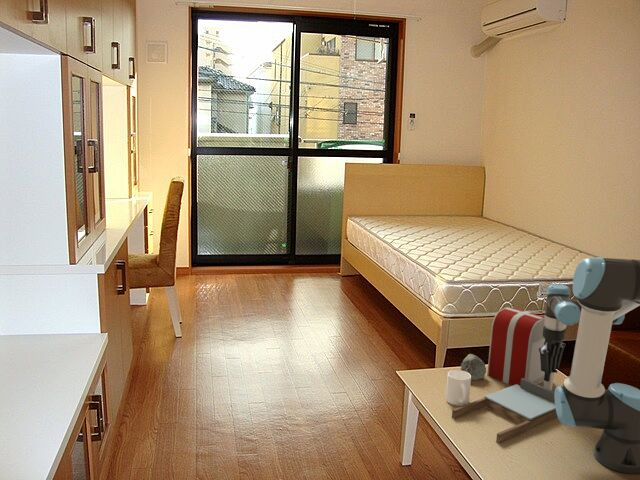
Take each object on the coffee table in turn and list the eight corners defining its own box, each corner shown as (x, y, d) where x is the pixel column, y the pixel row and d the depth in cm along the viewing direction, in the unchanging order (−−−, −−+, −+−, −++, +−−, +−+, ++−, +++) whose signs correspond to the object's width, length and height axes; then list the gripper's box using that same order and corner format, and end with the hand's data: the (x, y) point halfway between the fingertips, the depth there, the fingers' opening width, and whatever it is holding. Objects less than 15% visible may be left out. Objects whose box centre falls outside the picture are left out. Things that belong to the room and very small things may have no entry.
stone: (479, 357, 243) (473, 347, 252) (458, 372, 244) (452, 362, 254) (493, 375, 244) (486, 364, 254) (472, 390, 246) (466, 379, 255)
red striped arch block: (525, 390, 239) (532, 323, 233) (485, 375, 251) (491, 311, 246) (548, 379, 249) (555, 314, 244) (508, 365, 262) (515, 303, 256)
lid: (562, 406, 219) (563, 395, 219) (530, 420, 209) (531, 408, 208) (516, 385, 235) (517, 375, 234) (484, 397, 225) (485, 386, 224)
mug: (475, 411, 221) (477, 384, 219) (452, 411, 221) (454, 384, 218) (465, 395, 233) (467, 369, 231) (443, 396, 232) (445, 369, 230)
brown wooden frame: (561, 415, 220) (562, 407, 219) (498, 443, 200) (499, 434, 200) (514, 393, 236) (515, 386, 235) (451, 417, 216) (452, 409, 216)
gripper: (556, 321, 232) (549, 380, 236) (534, 327, 224) (527, 388, 229) (574, 327, 226) (567, 388, 231) (552, 333, 218) (545, 396, 223)
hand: (547, 388), depth 230 cm, fingers closed
